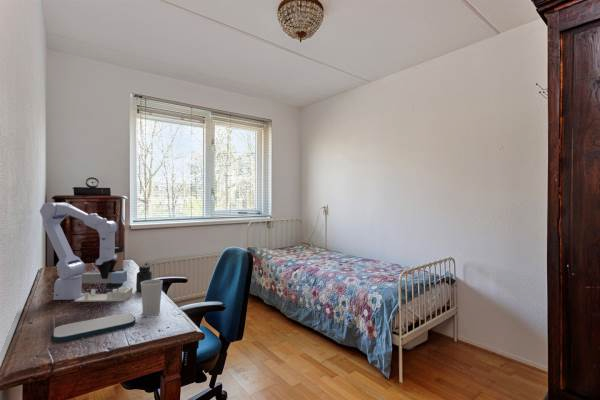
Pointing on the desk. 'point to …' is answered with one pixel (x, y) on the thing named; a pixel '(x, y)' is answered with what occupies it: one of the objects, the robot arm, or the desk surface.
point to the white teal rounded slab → (92, 327)
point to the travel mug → (118, 265)
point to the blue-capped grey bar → (112, 278)
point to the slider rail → (106, 296)
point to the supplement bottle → (143, 276)
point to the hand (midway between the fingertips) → (106, 277)
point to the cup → (151, 296)
